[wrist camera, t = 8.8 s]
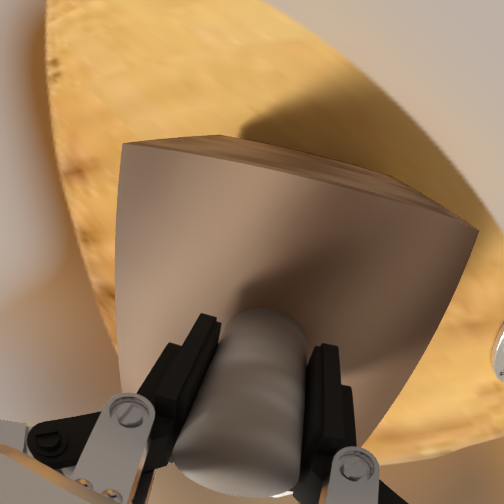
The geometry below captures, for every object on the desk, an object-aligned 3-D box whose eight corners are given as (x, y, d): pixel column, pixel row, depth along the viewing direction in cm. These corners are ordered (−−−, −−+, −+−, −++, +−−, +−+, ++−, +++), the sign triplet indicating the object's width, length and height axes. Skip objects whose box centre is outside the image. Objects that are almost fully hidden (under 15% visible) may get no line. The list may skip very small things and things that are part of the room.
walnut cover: (391, 176, 21) (580, 313, 4) (342, 324, 25) (355, 548, 8) (219, 134, 22) (-10, 169, 5) (195, 288, 26) (72, 476, 9)
